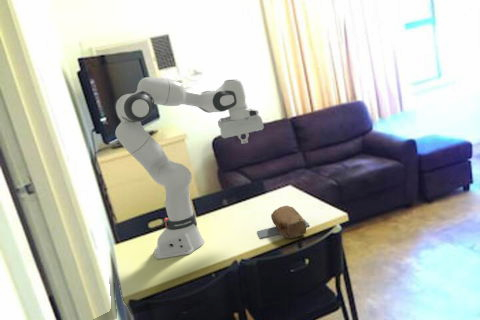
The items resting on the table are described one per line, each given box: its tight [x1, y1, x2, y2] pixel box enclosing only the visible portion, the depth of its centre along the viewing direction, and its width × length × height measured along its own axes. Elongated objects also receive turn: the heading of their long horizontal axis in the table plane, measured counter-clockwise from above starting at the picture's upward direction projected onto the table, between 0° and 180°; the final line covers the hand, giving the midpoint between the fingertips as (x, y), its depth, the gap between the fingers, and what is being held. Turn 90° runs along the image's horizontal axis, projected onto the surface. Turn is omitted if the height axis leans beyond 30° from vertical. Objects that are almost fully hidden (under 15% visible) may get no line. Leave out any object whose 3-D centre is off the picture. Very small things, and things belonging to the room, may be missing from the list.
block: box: [270, 205, 307, 239], centre depth 179 cm, size 11×8×20 cm
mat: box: [257, 219, 310, 240], centre depth 183 cm, size 22×8×1 cm, turn 99°
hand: (244, 143), depth 196 cm, fingers closed
